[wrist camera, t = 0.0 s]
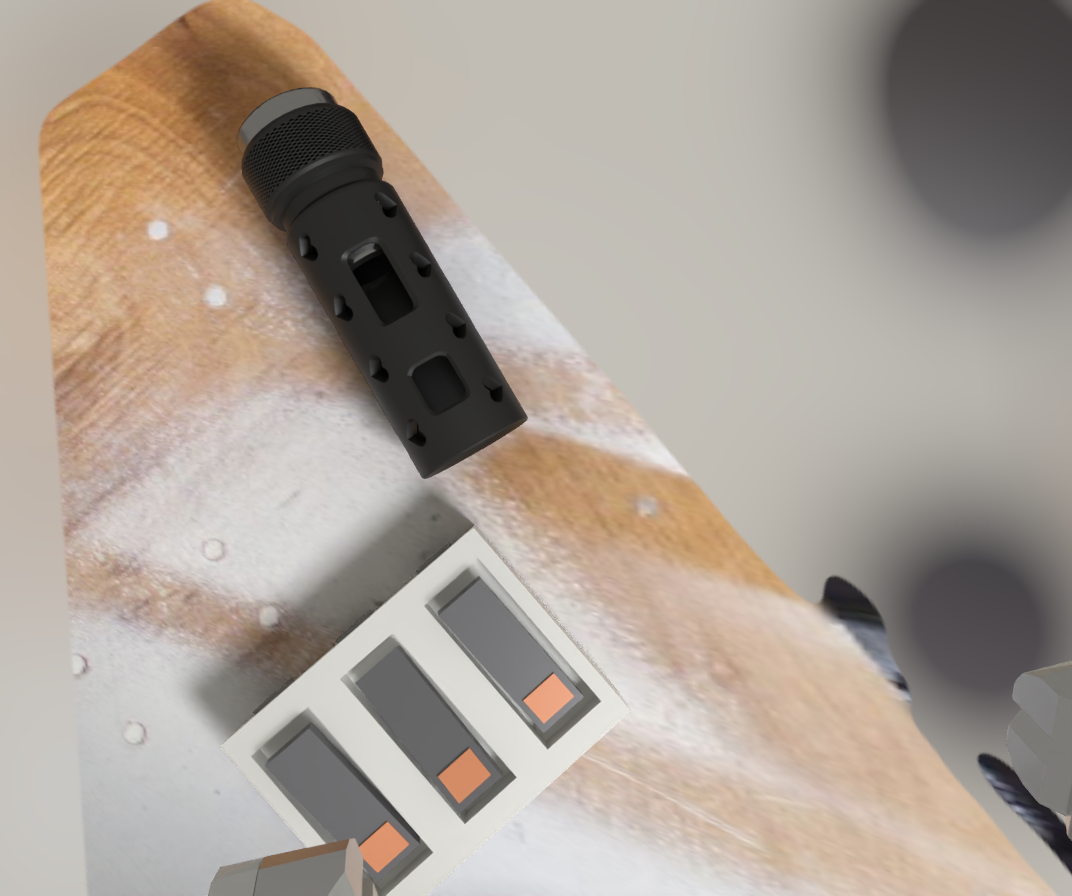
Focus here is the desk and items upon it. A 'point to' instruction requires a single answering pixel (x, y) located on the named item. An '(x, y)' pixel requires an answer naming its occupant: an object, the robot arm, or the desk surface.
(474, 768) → the middle rocker
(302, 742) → the rocker
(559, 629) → the switch strip
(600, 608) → the desk surface
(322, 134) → the perforated black cylinder
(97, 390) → the desk surface
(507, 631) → the rocker
